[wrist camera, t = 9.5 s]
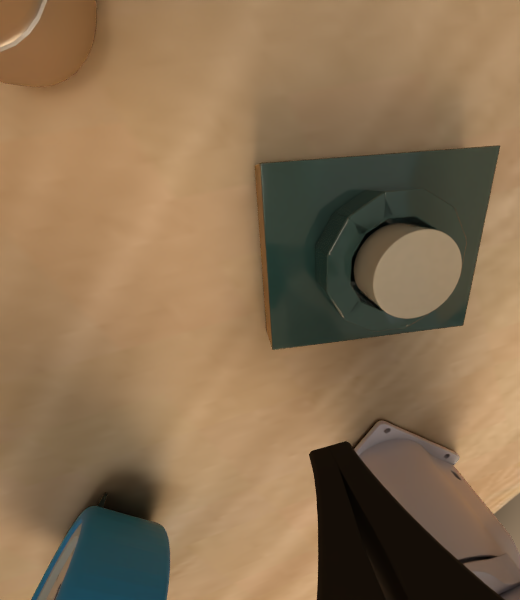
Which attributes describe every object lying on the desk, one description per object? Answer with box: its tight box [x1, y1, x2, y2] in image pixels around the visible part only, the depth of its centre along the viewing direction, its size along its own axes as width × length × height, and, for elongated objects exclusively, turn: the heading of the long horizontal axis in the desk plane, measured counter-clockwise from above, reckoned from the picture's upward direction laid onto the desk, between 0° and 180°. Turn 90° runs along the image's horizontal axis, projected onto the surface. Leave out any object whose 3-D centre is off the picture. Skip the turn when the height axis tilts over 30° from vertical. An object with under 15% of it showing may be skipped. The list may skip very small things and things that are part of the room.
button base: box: [255, 145, 500, 350], centre depth 16 cm, size 12×10×4 cm
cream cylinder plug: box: [354, 223, 462, 319], centre depth 14 cm, size 4×4×2 cm
